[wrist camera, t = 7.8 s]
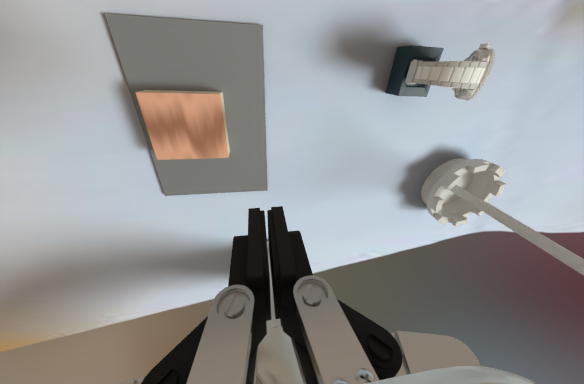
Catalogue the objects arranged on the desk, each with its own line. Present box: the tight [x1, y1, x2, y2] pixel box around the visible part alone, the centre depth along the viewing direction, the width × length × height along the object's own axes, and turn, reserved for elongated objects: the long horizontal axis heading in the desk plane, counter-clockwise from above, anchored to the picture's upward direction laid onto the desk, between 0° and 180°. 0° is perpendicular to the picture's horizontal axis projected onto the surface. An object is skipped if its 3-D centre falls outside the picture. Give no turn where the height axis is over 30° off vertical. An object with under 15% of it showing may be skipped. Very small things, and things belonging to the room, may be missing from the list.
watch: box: [386, 44, 495, 100], centre depth 25 cm, size 6×8×11 cm
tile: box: [135, 90, 230, 160], centre depth 27 cm, size 8×2×9 cm
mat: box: [105, 14, 267, 196], centre depth 28 cm, size 22×16×1 cm
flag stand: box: [421, 158, 584, 275], centre depth 29 cm, size 13×13×30 cm
